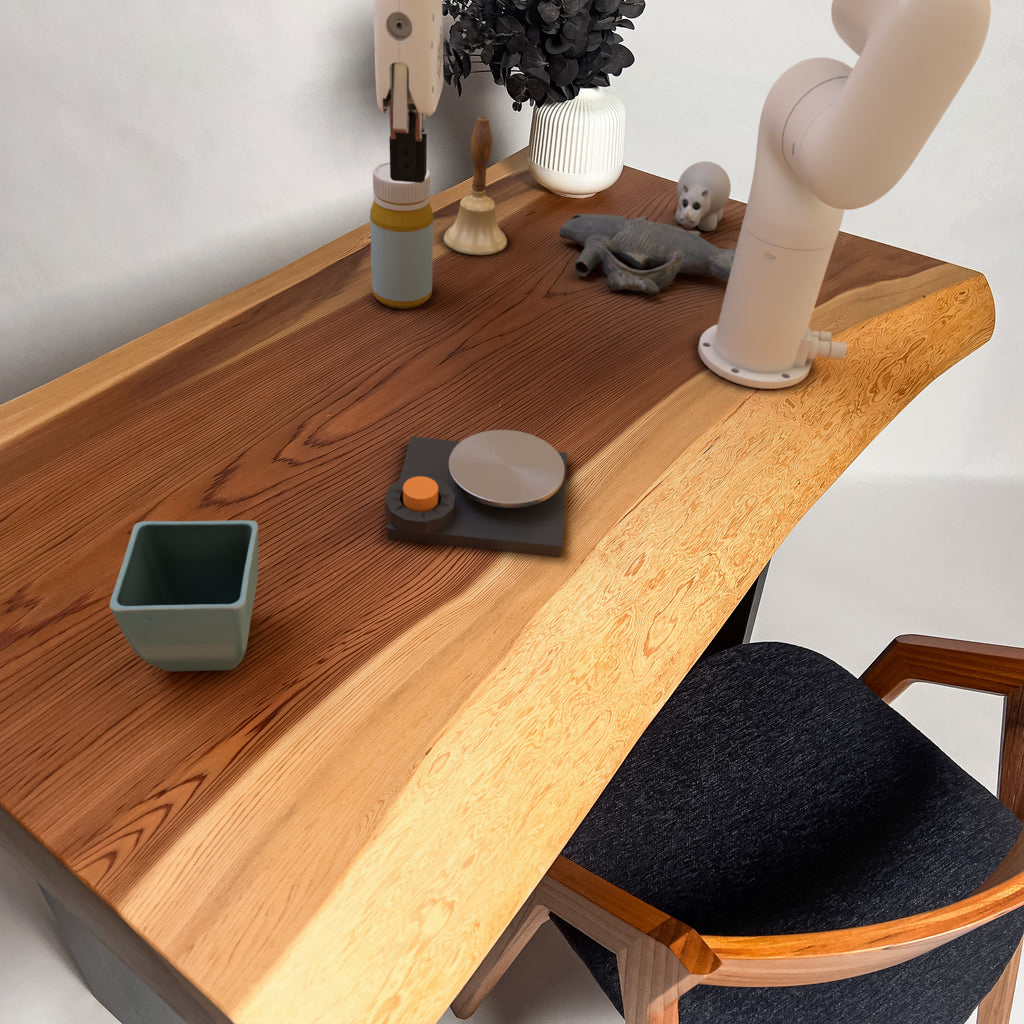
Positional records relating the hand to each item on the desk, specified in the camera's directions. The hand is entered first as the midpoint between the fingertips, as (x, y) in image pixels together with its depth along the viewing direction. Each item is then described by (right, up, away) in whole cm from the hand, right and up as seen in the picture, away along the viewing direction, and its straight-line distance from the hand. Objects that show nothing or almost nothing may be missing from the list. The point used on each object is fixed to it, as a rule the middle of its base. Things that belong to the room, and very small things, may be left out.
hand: (408, 177), depth 90 cm
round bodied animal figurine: (+34, +7, +43) cm, 55 cm away
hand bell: (+5, +4, +36) cm, 36 cm away
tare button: (+2, -30, -7) cm, 31 cm away
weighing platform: (+9, -28, -4) cm, 29 cm away
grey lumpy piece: (+26, -1, +32) cm, 42 cm away
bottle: (-3, -6, +24) cm, 25 cm away
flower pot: (-14, -42, -17) cm, 47 cm away
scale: (+7, -30, -3) cm, 31 cm away
